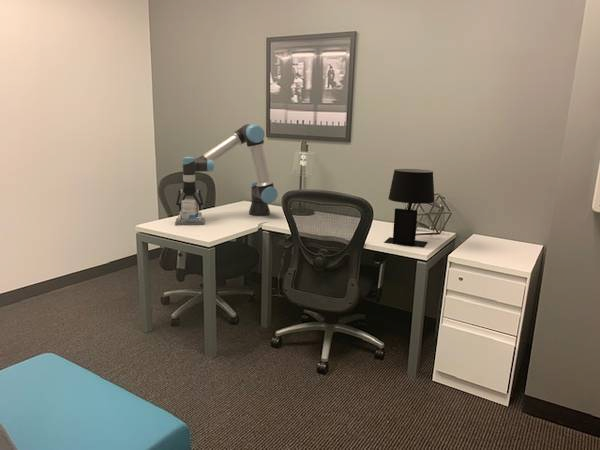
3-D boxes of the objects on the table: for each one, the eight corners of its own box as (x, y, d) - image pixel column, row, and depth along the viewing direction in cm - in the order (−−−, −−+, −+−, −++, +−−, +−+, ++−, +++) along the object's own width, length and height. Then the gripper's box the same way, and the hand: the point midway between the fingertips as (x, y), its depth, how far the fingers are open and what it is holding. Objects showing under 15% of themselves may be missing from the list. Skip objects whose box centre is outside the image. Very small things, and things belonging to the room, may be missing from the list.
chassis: (204, 219, 303) (204, 211, 302) (204, 224, 288) (204, 216, 287) (176, 220, 299) (176, 212, 298) (175, 225, 284) (174, 216, 283)
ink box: (198, 216, 297) (198, 198, 294) (194, 219, 288) (194, 200, 286) (186, 215, 297) (185, 198, 295) (181, 218, 289) (181, 200, 287)
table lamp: (380, 242, 253) (384, 171, 245) (391, 233, 278) (395, 167, 270) (426, 248, 243) (433, 174, 235) (433, 237, 268) (439, 170, 260)
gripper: (207, 180, 294) (207, 214, 298) (171, 180, 289) (172, 214, 294) (207, 181, 287) (207, 216, 291) (170, 182, 282) (172, 217, 287)
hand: (190, 215), depth 293 cm, fingers closed on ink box, 10 cm apart
